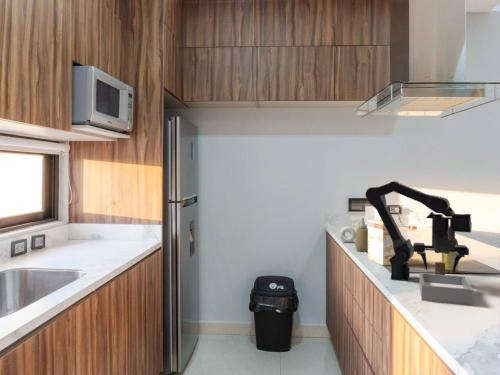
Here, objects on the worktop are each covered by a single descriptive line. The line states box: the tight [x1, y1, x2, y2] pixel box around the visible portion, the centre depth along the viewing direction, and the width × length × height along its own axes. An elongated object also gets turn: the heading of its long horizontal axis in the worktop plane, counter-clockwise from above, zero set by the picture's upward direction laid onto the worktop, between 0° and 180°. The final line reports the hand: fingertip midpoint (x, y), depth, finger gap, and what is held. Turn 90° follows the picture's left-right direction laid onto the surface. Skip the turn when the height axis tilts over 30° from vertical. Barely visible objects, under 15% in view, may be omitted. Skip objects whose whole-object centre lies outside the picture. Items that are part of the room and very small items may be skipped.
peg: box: [434, 261, 446, 275], centre depth 147 cm, size 4×4×8 cm
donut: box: [338, 226, 356, 244], centre depth 235 cm, size 10×4×10 cm, turn 75°
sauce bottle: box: [441, 225, 459, 274], centre depth 164 cm, size 6×6×20 cm
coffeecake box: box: [367, 219, 395, 266], centre depth 184 cm, size 15×7×20 cm, turn 9°
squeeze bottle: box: [354, 217, 368, 253], centre depth 210 cm, size 8×8×18 cm
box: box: [418, 272, 474, 306], centre depth 134 cm, size 15×17×5 cm
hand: (439, 271), depth 147 cm, fingers open, 9 cm apart
